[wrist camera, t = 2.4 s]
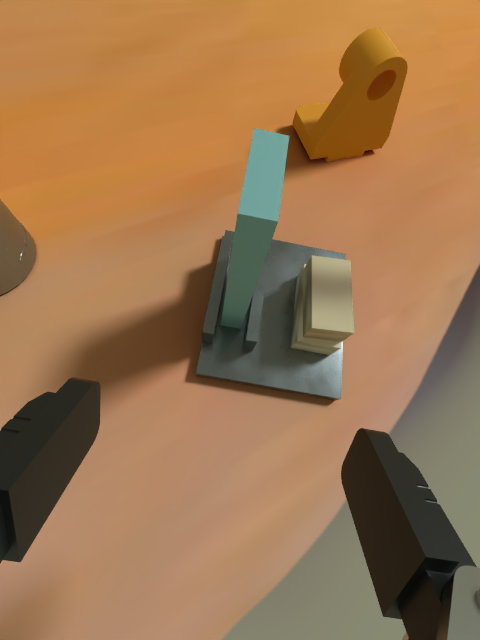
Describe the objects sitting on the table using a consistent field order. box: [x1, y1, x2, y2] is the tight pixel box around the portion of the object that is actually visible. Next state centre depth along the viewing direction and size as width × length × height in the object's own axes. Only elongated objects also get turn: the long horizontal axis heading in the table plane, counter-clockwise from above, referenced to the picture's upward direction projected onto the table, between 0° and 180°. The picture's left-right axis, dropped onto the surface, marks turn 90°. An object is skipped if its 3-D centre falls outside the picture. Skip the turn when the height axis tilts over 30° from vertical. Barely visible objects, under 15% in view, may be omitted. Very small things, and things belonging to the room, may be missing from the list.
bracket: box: [293, 28, 407, 162], centre depth 37 cm, size 11×7×12 cm, turn 108°
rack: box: [196, 230, 346, 400], centre depth 30 cm, size 16×14×4 cm
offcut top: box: [303, 255, 354, 342], centre depth 28 cm, size 7×4×2 cm, turn 175°
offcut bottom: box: [290, 264, 341, 355], centre depth 30 cm, size 8×4×2 cm, turn 171°
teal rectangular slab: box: [221, 128, 289, 329], centre depth 24 cm, size 6×2×16 cm, turn 171°
